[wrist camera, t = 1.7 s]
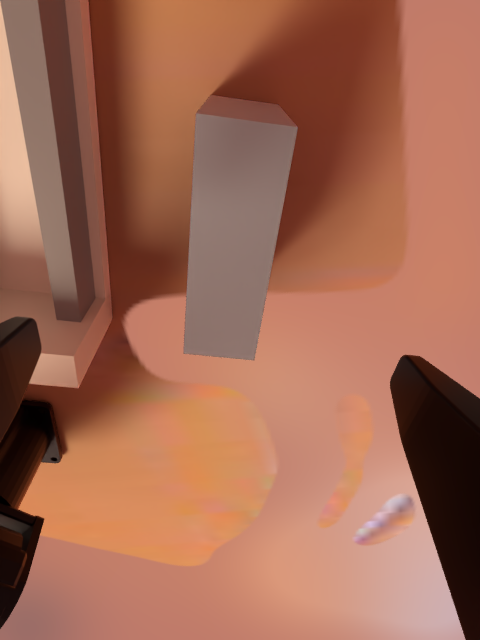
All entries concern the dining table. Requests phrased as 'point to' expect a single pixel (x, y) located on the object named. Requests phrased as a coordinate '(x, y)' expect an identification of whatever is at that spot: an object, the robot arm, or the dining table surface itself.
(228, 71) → the dining table surface
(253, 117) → the grey rectangular block
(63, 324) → the track
